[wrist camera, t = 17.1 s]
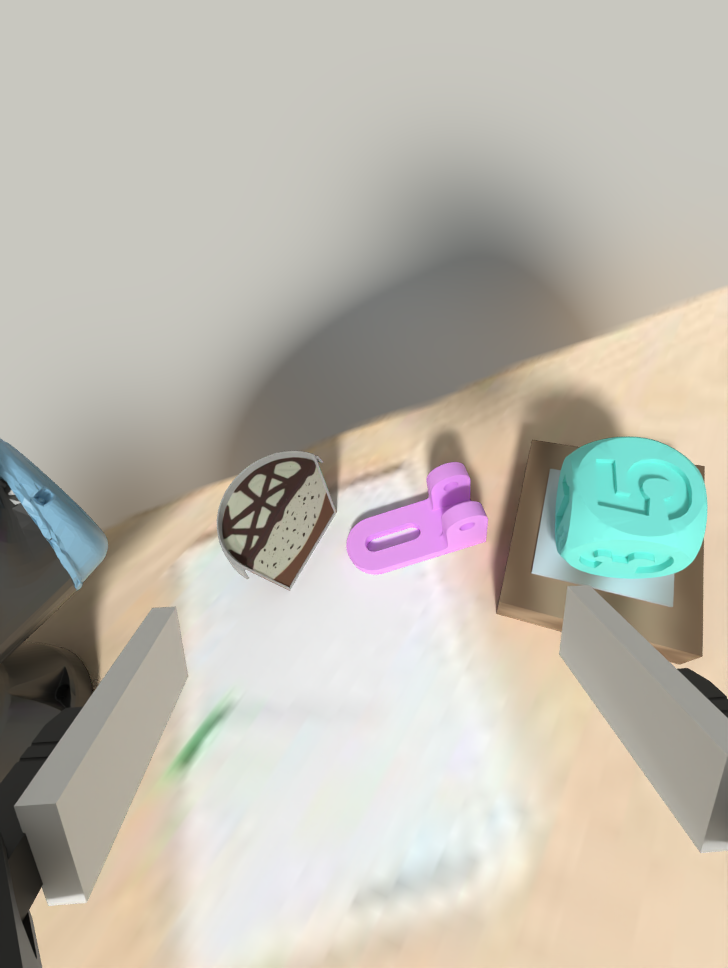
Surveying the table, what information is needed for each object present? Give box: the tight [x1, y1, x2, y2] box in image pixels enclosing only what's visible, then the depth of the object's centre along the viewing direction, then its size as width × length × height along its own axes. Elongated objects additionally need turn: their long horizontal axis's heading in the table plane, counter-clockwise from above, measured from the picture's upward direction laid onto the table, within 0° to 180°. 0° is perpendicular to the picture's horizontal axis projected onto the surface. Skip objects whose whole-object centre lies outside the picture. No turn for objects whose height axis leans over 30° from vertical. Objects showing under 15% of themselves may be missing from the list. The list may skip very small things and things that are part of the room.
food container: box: [217, 451, 337, 590], centre depth 43 cm, size 12×6×10 cm, turn 152°
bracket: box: [347, 462, 488, 574], centre depth 42 cm, size 13×6×7 cm, turn 105°
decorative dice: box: [555, 437, 707, 579], centre depth 34 cm, size 8×8×8 cm
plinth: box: [497, 440, 705, 664], centre depth 39 cm, size 14×16×4 cm
